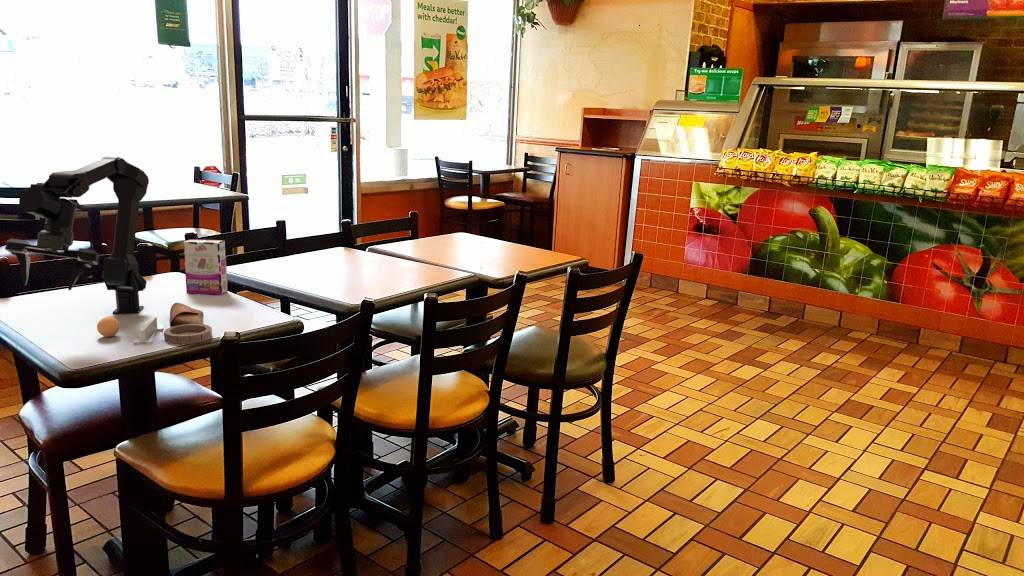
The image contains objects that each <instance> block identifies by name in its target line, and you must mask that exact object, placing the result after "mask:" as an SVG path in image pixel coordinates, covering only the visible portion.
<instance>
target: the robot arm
mask: <svg viewBox="0 0 1024 576" xmlns="http://www.w3.org/2000/svg"><path fill="white" fill-rule="evenodd" d="M104 179H108V180H109V181H110V182H111V184H112V190H113V192H114V194H115V196H116V199H117V200H118V201H117V210H116V211H117V212H116V220H115V221H116V222H115V230H114V239H113V240H114V241H113V249H112V253H111V255H109V257H105V258H103V265H102V270H101V273H102V278H103V282H104V285H105V287H106V290H107V291H114V292H115V302H116V303H115V304H116V308H115V309H114V310H113V311H112V314H113V315H116V314H139V313H140V312H141V311H142V310H143V309H144V305H140V299H139V298H140V296H139V292H143V291H144V290H145V289H146V288H147V279H145V278H144V277H143V276H142V275H141V273H140V271H139V268H140V267H139V263H138V261H137V260H136V257H135V255H134V250H135V243H136V232H137V231H136V230H137V223H138V214H139V213H138V212H139V204H140V202H141V201H142V199H144V197H145V196H146V194H147V190H148V186H149V182H150V181H149V180H150V179H149V177H148V175H147V174H146V173H145V171H144V170H141V169H140V168H139V167H137V166H135V165H133V164H131V163H129V162H127V161H126V160H125V159H124V158H122V157H119V156H105V157H102V158H101V159H100V160H96V161H95V162H92V163H90V164H87V165H85V166H83V167H80V168H78V169H74V170H61V171H55V172H52V173H51V174H49V176H48V179H47V180H45V182H44V183H42V185H41V184H39V183H38V184H37V183H31V184H30V187H29V189H26V190H25V191H24V192H23V193H22V194H21V196H20V197H19V199H18V202H19V207H20V209H21V210H22V211H24V212H26V213H28V214H31V215H33V216H37V217H39V218H41V219H45V222H44V226H43V229H42V230H40V231H39V232H37V238H36V239H37V241H36V245H35V244H31V243H30V242H29V241H28V240H23V239H17V238H9V239H8V240H6V242H5V247H4V250H5V251H6V252H8V253H10V254H11V255H12V256H13V257H15V258H16V259H17V261H18V264H19V267H20V272H21V277H22V283H23V285H24V286H27V284H28V281H29V273H30V266H31V257H30V256H29V254H31V253H32V254H37V255H38V254H39V255H47V256H52V257H53V256H54V257H60V258H69V259H75V260H74V266H73V269H72V273H71V277H70V280H69V282H68V289H67V290H68V291H72V289H73V287H74V286H75V284H76V283H77V281H78V280H79V278H80V277H81V275H82V274H83V273H84V272H85V270H86V269H87V268H92V267H93V265H96V266H97V265H99V263H100V254H99V253H98V252H97V251H96V250H95V249H88V248H82V247H80V248H78V250H71V249H69V248H70V247H71V246H72V245H73V244H74V231H73V228H74V222H75V216H76V211H82V210H83V208H82V206H81V204H80V203H79V201H78V199H75V198H81V197H82V196H84V195H85V194H86V193H87V192H88V191H89V190H90V186H91V185H94V184H95V183H99V182H100V181H103V180H104ZM67 198H69V199H67ZM72 198H74V199H72ZM59 251H60V252H59Z"/></svg>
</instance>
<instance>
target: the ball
mask: <svg viewBox="0 0 1024 576" xmlns="http://www.w3.org/2000/svg"><path fill="white" fill-rule="evenodd" d="M120 325H121V324H120V322H119V321H118V320H117V319H116V318H115V317H113V316H104V317H102V318H101V319H100V320H98V322H97V325H96V330H97V333H99V334H100V335H101V336H102V337H105V338H111V337H115V336H116V335H117V334H118V333H119V332H120V329H121V326H120Z"/></svg>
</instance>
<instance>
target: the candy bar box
mask: <svg viewBox="0 0 1024 576" xmlns="http://www.w3.org/2000/svg"><path fill="white" fill-rule="evenodd" d="M182 247H183V257H184V260H183V261H184V271H185V272H184V273H185V274H184V275H185V288H186V295H197V294H200V296H201V295H202V296H223V295H225V294H227V293H228V292H229V291H228V288H229V287H228V274H227V255H226V253H227V252H226V241H225V240H220V239H219V240H218V239H217V240H216V239H188V240H187V239H186V240H184V241H183V242H182Z"/></svg>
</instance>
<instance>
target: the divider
mask: <svg viewBox="0 0 1024 576" xmlns="http://www.w3.org/2000/svg"><path fill="white" fill-rule="evenodd" d="M157 318H158V317H157V316H151V318H150V319H149V320H148V321H147V322H146V323H145V324H144V325H143V326H142V327H141V329H140V330H139V339H140V340H134V341H133V345H153V343H154V340H151V338H153V336H154V335H155V333H157V332H164V331H165V330H164V327H158V319H157ZM153 334H154V335H153Z"/></svg>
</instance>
